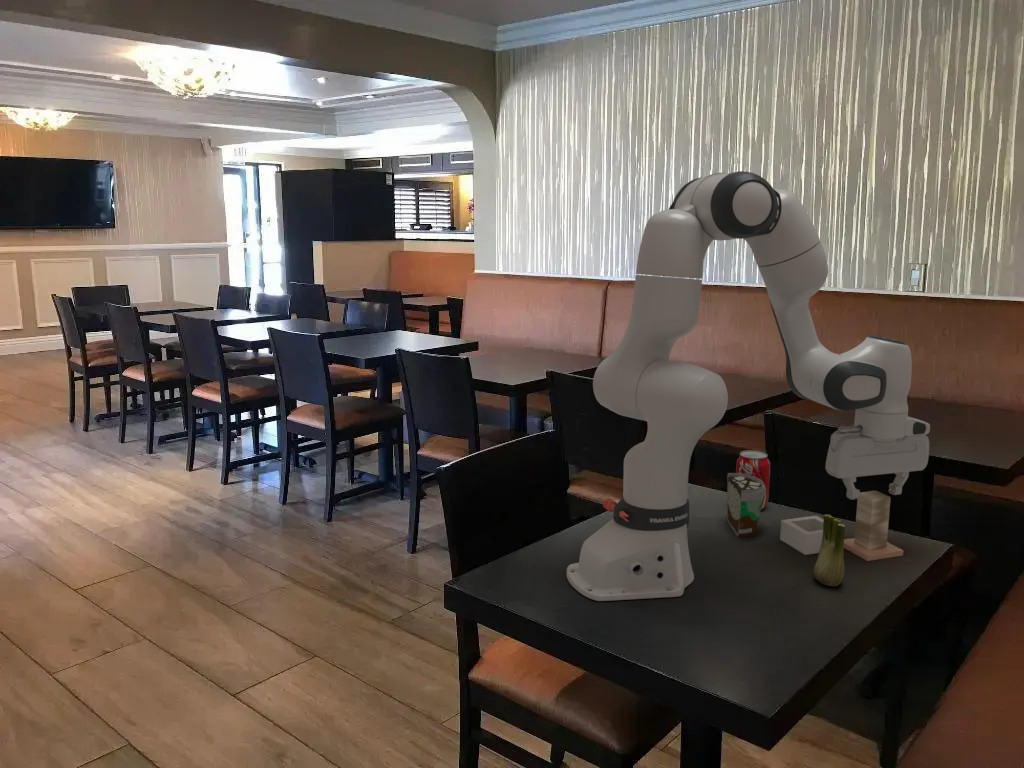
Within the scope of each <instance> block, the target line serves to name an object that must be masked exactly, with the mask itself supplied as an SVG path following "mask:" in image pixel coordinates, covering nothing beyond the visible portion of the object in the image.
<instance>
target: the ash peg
mask: <svg viewBox="0 0 1024 768" xmlns="http://www.w3.org/2000/svg"><path fill="white" fill-rule="evenodd" d="M891 498H892V497H891V496H889V495H887V494H884V493H882V492H880V491H878V490H870V491H861V492H860V494H859V499H856V500H857V501H856V515H855V528H854V529H855V530H854V538H855V540H854V543H856V544H858V545H860V546H861V547H863V548H865V549H867V550H875V549H882V548H886V547H887V542H888V533H889V521H890V510H891V509H890V507H891Z"/></svg>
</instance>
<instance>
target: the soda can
mask: <svg viewBox="0 0 1024 768" xmlns="http://www.w3.org/2000/svg"><path fill="white" fill-rule="evenodd" d="M735 467H736V468H735V473H738V474H745V475H750V476H753V477H756V478H758V479H760V480H761V481H762V482H763V484H764V486H765V492H766V495H765V496H764V497H763V498H762V501H761V509H760V511H762V510H763V509H765V508H767V507H768V505H769V504H768V503H769V495H770V479H771V478H770V477H771V475H770V474H771V462H770V460H769V458H768V453H766V452H764V451H762V450H761V451H759V450H751V449H750V450H749V449H748V450H742V451H740V452H739V457H738V458H737V460H736V466H735Z"/></svg>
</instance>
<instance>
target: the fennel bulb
mask: <svg viewBox="0 0 1024 768" xmlns="http://www.w3.org/2000/svg"><path fill="white" fill-rule="evenodd" d="M823 519H824V522H823V537H822V543H821V547H820V551H819V553H818V557H817V559H816V563H815V564H814V568H813V574H814V577H815V579H816V580H817V581H818V583H820V584H822V585H824V586H829V587H838V586H839V585H841V583H842V581H843V579H844V576H845V561H844V557H845V556H844V548H843V546H844V539H845V530H846V526H845V524H843V523H842V521H841V520H839V519H835V518H834V516H832V515H831V514H827V513H826V514H824V515H823Z"/></svg>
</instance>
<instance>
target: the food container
mask: <svg viewBox="0 0 1024 768" xmlns="http://www.w3.org/2000/svg"><path fill="white" fill-rule="evenodd" d="M726 477H727V478H726V482H727V487H726V488H727V491H726V493H727V494H726V495H727V496H726V499H727V500H726V501H727V503H726V507H727V508H726V521H727V523H728V524H729V525H730V527H731V529H732V530H733V532H734V533H735V535H736V536H737V538H746V537H751V536H754V535H756V533H758V530H759V522H760V514H761V510H760V509H761V501H762V498H763V497H764V496H765V495H766V492H765V486H764V484H763V482H762V481H761V480H760V479H758V478H756V477H753V476H750V475H745V474H738V473H736V472H727V476H726Z"/></svg>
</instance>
